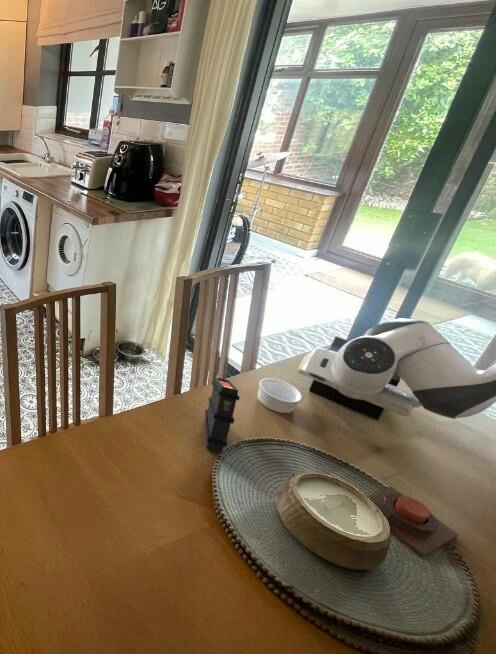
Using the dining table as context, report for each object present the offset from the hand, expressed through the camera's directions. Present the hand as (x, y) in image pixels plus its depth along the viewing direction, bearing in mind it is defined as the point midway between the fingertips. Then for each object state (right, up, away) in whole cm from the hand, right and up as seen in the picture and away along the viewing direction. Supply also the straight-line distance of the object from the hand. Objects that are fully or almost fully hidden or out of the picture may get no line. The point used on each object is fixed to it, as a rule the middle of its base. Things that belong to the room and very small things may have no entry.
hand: (348, 392), depth 98 cm
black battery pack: (-34, -9, -2) cm, 35 cm away
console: (+8, -3, +10) cm, 13 cm away
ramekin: (-13, -5, +7) cm, 15 cm away
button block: (-11, -18, -23) cm, 31 cm away
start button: (-11, -14, -25) cm, 30 cm away
